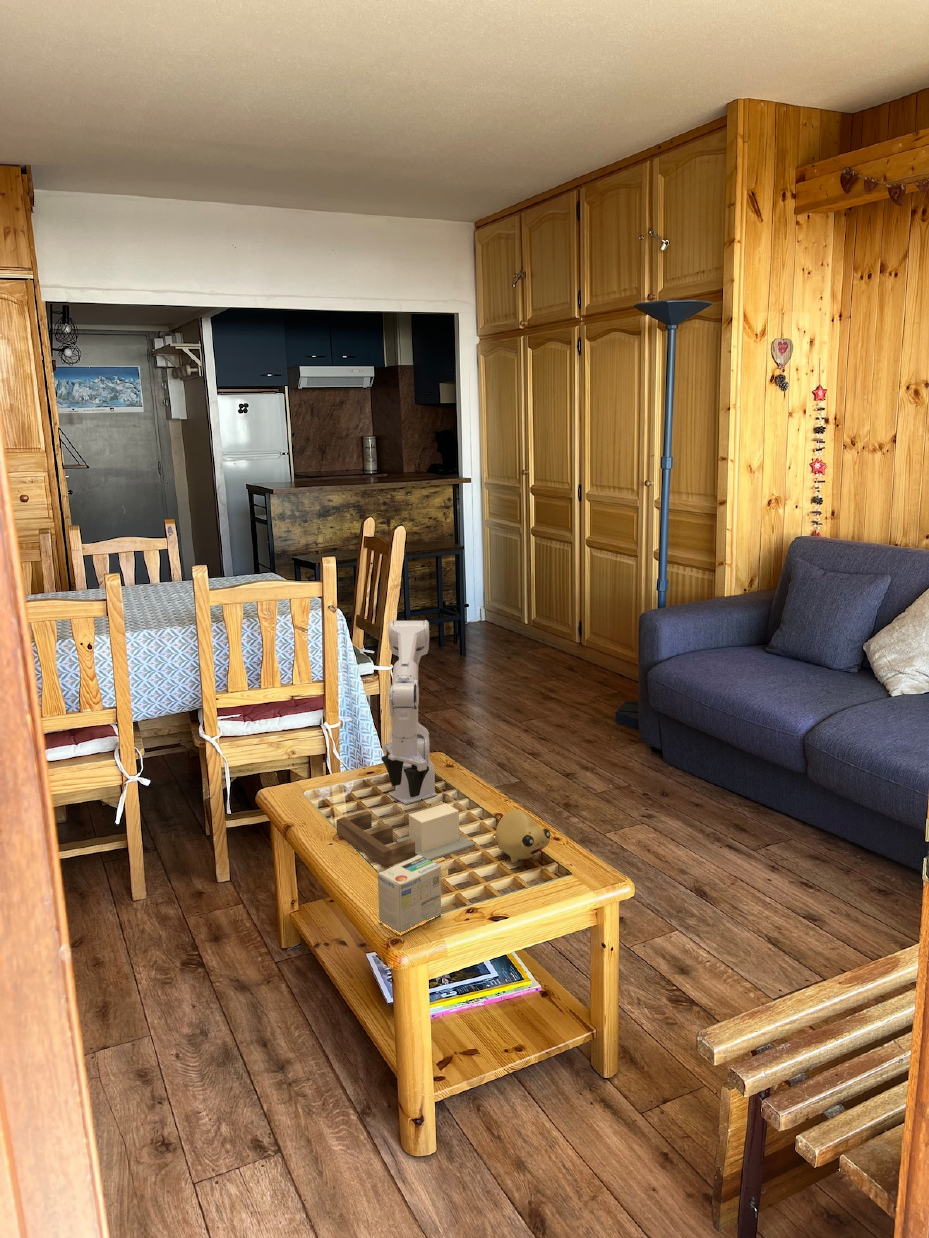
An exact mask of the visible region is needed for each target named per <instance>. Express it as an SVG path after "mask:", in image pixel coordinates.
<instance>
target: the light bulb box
mask: <svg viewBox="0 0 929 1238" xmlns="http://www.w3.org/2000/svg"><path fill="white" fill-rule="evenodd" d="M441 873H442V865H440V864H439V863H436V862H434V861H433V860H432V861H430V860H428V859H426V858H424V857H422V856H420V855H417V856H416V855H415V856H414V857H412V858H410V859H408V860H405V861H402V862H399V863H397V864H394V866H393V865H392V866H391V867H388V868H387V869H385V870H382V871H380V872H377V889H378V890H377V892H378V893H377V894H378V897H377V899H378V918H379V919H378V921H379V920H380V921H382V923H384V924H386V925H388V926H389V927H391V928H392V929H394V930H396V931H398V932H400V933H401V932H403V931H406V930H408V929H410V928H411V927H414V926H415V925H416V924H419V923H421V922H422V921H424V920H429V919H431V918H433V917H436V916H438V915H441V916H442V874H441Z"/></svg>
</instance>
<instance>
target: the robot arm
mask: <svg viewBox="0 0 929 1238" xmlns="http://www.w3.org/2000/svg"><path fill="white" fill-rule="evenodd" d="M387 630H388V644H389V650H390V651H391V654H392V655H394V656H395V657H396V656H397V657H398V660H397V661H396V662H395V663H394V664H393V667H392V680H391V684H390V685H389V687H388V704H389V710H390V711H389V713H390V714H389V716H390V717H391V730H390V732H389V740H388V743H384V744H383V753H385V755H383V756H381V762H382V763H383V765H384V766H385V769H386V770H387V773H388V774H387V775H388V778H389V781H390V785H391V786H392V787H395V790H392V791H389V792H388V795H389V796H391V797H392V798H394V799H396V800H398V801H399V802H401V803H403V804H404V805H408V804H412V803H416V802H419V801H422V800H425V799H429V798H432V797H435V796H437V792H436V791H435V790H436V787H435V786H436V785H435V784H436V781H435V780H436V776H435V775H436V774H435V772H436V771H435V767H434V764H433V762H432V761H431V759H430V732H429V731H428V729H427V727H425V726H424V725H422V724H421V723H420V722H419V704H420V703H419V701H420V688H419V664H420V662H421V661H420V660H421V658H422V656H425V655H427V654H428V653H429V648H430V647H429V646H430V644H429V643H430V623H429V621H428V620H427V619H424V620H394V619H390V621H389V622H388V629H387ZM418 735H420V736H418ZM421 799H422V800H421Z"/></svg>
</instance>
